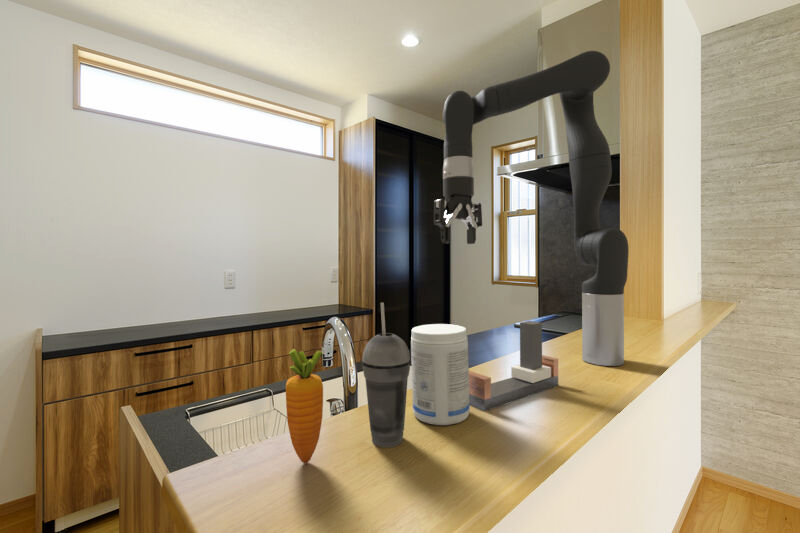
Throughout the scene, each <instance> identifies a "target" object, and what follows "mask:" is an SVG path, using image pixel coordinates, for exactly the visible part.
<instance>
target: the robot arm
mask: <svg viewBox="0 0 800 533" xmlns="http://www.w3.org/2000/svg"><path fill="white" fill-rule="evenodd" d="M610 71H611V64H610V61H609V59H608V57H607V56H606V55H605V54H604V53H603V52H600V51H597V50H587V51H584V52H582V53H579V54H577V55H574V56H573V57H571V58H568V59H566V60H564V61H562V62H560V63H558V64H554V65H553V66H550V67H548V68H545V69H542V70H539V71H537V72H534V73H531V74H528V75H524V76H522V77H518V78H515V79H511V80H508V81H504V82H501V83H500V82H499V83H497V84H493V85H489V86H487V87H485V88H482V89H481V90H480V91H479V92H478V94H475V95H474V96H471V95H470V94H469V93H468V92H466V91H464V90H455V91H453V92H451V94H449V95H448V96H447V97H446V100H445V101H444V105H443V110H442V122H443V123H444V128H445V129H444V130H445V131H444V133H445V135H444V142H443V166H442V196H443V198H440V199H435V200H434V201H433V225H435V226H438V227H439V228H440V241H441V243H442V244H450V242H451V227H450V225H451V224H452V222H453V221H454V220H455V219H457V220H461V221H462V223H463V224H465V226H466V228H467V229H466V244H467V245H474V244H475V243H476V240H477V228H479V227H483V214H482V204H481V203H480V202H479V203H478V202H477V203H473V201H472V198H473V197H474V195H475V190H474V189H475V187H474V186H475V185H474V184H475V178H474V173H475V172H474V169H475V168H474V161H473V129H474V128H473V127H474V125H476V124H479V123H480V122H483V121H485V120H488V119H489V118H493V117H497V116H502V115H504V114H508V113H512V112H515V111H517V110H520V109H522V108H524V107H528V106H529V105H531V104H533V103H536V102H538V101H541V100H543V99H545V98H548V97H551V96H554V95H557V94H559V99H560V102H561V108H562V112H563V116H564V122H565V130H566V132H565V133H566V142H567V150H568V151H567V152H568V162H569V163H568V165H569V172H570V173H569V174H570V181H571V188H572V189H571V190H572V201H573V202H572V203H573V220H574V221H573V224H574V225H573V236H574V237H573V243H574V244H573V246H574V252H575V256H576V258H577V260H578V261H579V262H580V264H582V265H584V266H589V267H591V266H592V267H596V273H595V274H594V275H593V276H592V277H590V278H588V279H586V280H584V281H583V282H582V285H581V305H582V306H581V310H582V311H581V314H582V317H581V320H582V321H581V324H582V327H581V328H582V329H581V332H582V333H581V335H582V336H581V337H582V338H581V339H582V340H581V343H582V344H581V345H582V346H581V348H582V349H581V353H582V354H581V356H582V358H581V359H582V361H584V362H586V363H588V364H591V365H596V366H597V365H598V366H604V367H605V366H606V367H608V366H609V367H615V366H616V367H617V366H623V365H624V364H625V295H624V293H625V292H624V291H625V285H626V283H627V281H628V268H629V267H628V266H629V242H628V238H627V236H626V234H625V233H624V231H622V230H621V229H619V228H613V227H612V228H602V229H600V222H599V214H600V207H601V204H602V201H603V199H604V196H605V194H606V192H607V190H608V187H609V184H610V182H611V180H612V173H613V170H612V158H611V150H610V146H609V142H608V140H607V139H606V137H605V134H604V133H603V131H602V129H601V128H600V126H599V124H598V123H597V119H596V116H595V106H594V105H595V104H594V94H595V92H596V91H597V90H598V89H599V88H601V86H603V85H604V83H605V82H606V81H607V79H608V77H609V74H610Z"/></svg>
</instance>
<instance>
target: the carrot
mask: <svg viewBox="0 0 800 533" xmlns="http://www.w3.org/2000/svg"><path fill="white" fill-rule="evenodd" d="M288 354H289V356H290V359H291V360H292V362H293V364H294V365H291V366H289V369H290V370H291V371H293V372H294V373H295V374H296V375H293V376H291V377H290V378H288V379H287V381H286V383H285V405H286V406H285V407H286V416H287V417H286V419H287V425H288V431H289V436H290V440H291V444H292V446H293V449H294V451H295V453H296V455H297V457H298V459H299V460H300V463H301V462H302V463H303V464H304V463H307V464H308V463H309V462H310V461H311V459H312V457H313V455H314V453H315V450H316V449H317V446H318V442H319V439H320V434H321V429H322V423H323V412H324V411H323V409H324V408H323V407H324V384H323V381H322V378H321V377H320V375H317V374H313V371H314V369H315V367H316V366H317V363H318V362H319V359H320V358H321V356H322V355H323V352H322V351H320V350H316V352H315V353H314V354H313V356H312V358H310V359H309V360H308V359H307V356H306V354H305V352H304V351H303V350H301V351H299V352H297V350H296V349H295V348H293V349H291V350H290V351H289V353H288Z"/></svg>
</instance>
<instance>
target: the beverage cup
mask: <svg viewBox="0 0 800 533" xmlns="http://www.w3.org/2000/svg"><path fill="white" fill-rule="evenodd" d="M384 303H385V302H380V313H381V314H380V315H381V332H382V333H381V332H380V333H378V334H376V335H375V336H372V337H371V339H370V340H369V341H368V342H367V343H366V344H365V347H364V349H363V352H362V360H361V361H360V362H361V365H362V372H363V376H364V378H365V380H364V381H365V387H366V388H365V390H366V397H367V398H366V399H367V408H368V409H367V410H368V418H369V419H368V420H369V428H370V429H369V430H370V435H371V442H372V444H373V445H374V446H376V447H380V448H384V449H386V448H394V447H397V446H399V445H401V444H402V443H403V439H404V438H403V437H404V431H405V423H406V422H405V421H406V420H405V418H406V405H407V391H408V380H409V375H410V370H411V364H412V363H411V353H410V351H409V347H408V346H407V344H406V342H405V341H404V340H403V339H402V338H401V337H400V336H398V335H396V334H394V333H391V332H386V318H385V316H386V315H385V304H384Z"/></svg>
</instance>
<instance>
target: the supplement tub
mask: <svg viewBox="0 0 800 533" xmlns="http://www.w3.org/2000/svg"><path fill="white" fill-rule="evenodd" d="M467 333H468V332H467V328H466V327H465V326H461V325H458V324H450V323H449V324H448V323H431V324H430V323H429V324H421V325H418V326H414V327H412V329H411V337H410V339H411V340H410V359H411V363H410V364H411V386H412V388H411V390H412V391H411V392H412V394H411V395H412V413H413V415H414V416H415V418H417V419H418V420H419V421H420V422H423V423H425V424H430V425H433V426H450V425H454V424H459V423H461V422H463V421H465V420H466V419H467V418H468V417H469V414H470V410H471V409H470V406H471V405H470V404H469V371H470V370H469V369H470V368H469V340H468V334H467Z"/></svg>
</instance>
